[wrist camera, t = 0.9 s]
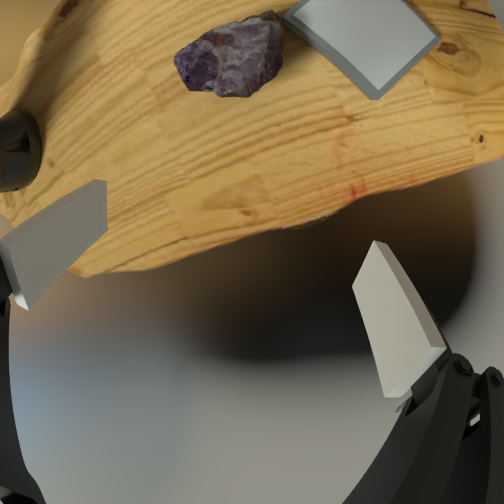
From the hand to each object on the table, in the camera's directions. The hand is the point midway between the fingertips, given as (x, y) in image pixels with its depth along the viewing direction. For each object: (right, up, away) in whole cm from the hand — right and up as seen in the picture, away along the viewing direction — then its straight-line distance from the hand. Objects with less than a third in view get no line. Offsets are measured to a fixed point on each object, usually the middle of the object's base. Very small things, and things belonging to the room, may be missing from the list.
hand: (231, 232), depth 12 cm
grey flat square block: (+14, +26, +9) cm, 31 cm away
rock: (0, +21, +14) cm, 25 cm away
